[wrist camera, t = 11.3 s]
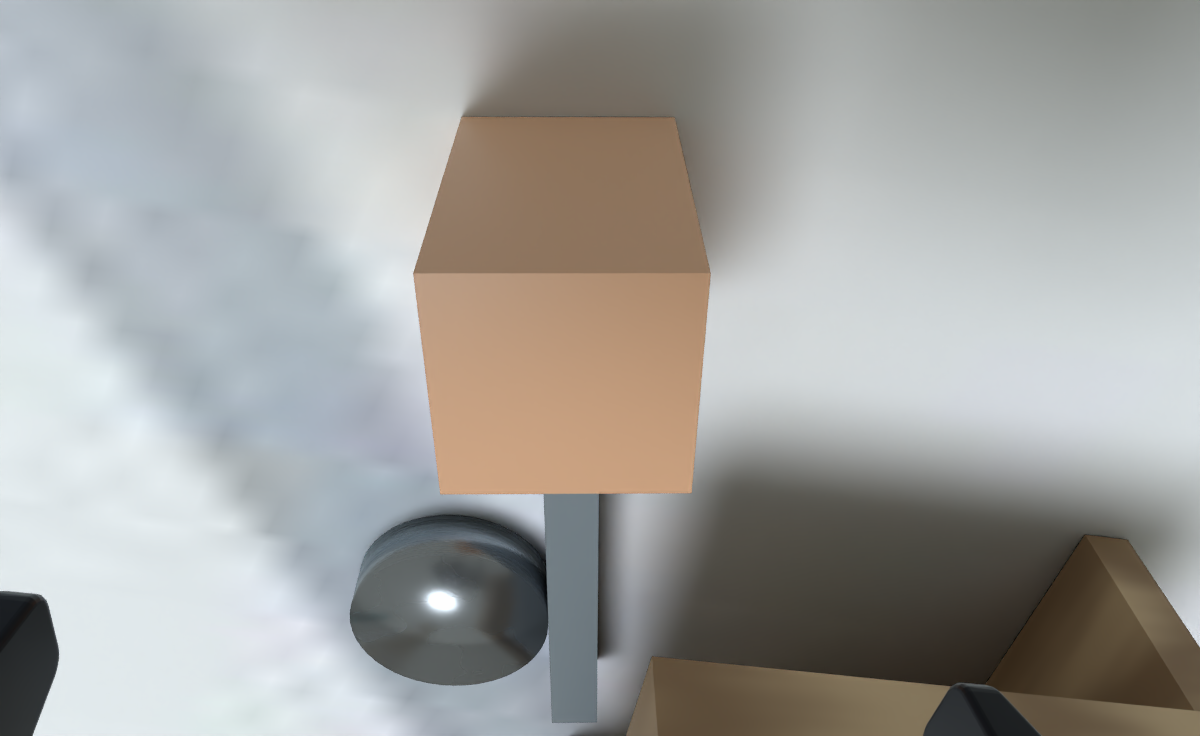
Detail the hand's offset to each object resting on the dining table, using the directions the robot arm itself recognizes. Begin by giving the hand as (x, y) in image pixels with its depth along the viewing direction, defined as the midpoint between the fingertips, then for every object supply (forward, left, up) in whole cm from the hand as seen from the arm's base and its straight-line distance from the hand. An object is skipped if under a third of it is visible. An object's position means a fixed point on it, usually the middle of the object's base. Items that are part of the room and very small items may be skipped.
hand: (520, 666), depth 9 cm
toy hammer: (-1, +6, -11) cm, 13 cm away
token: (+1, +11, -11) cm, 16 cm away
